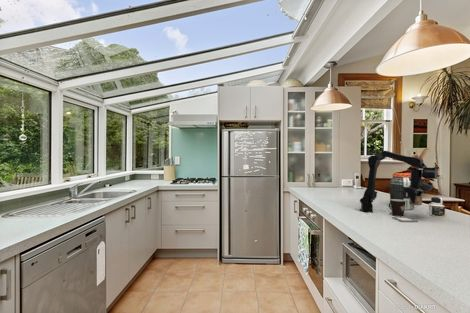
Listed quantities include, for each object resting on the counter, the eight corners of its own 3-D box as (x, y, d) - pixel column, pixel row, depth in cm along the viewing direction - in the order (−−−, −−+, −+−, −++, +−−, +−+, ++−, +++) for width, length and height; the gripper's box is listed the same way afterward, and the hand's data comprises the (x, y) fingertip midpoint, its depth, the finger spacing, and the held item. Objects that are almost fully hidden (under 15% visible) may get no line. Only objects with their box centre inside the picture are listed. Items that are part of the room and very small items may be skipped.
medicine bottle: (431, 216, 175) (432, 197, 175) (428, 213, 182) (428, 196, 182) (445, 217, 172) (445, 198, 172) (441, 214, 179) (441, 196, 179)
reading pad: (401, 222, 160) (401, 220, 160) (391, 217, 170) (391, 216, 170) (418, 222, 160) (418, 221, 160) (407, 218, 170) (407, 216, 170)
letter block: (418, 205, 162) (418, 197, 162) (409, 204, 166) (409, 195, 166) (422, 204, 165) (422, 196, 164) (412, 203, 169) (413, 195, 169)
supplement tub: (415, 211, 189) (415, 174, 189) (389, 208, 198) (389, 173, 197) (413, 207, 203) (414, 173, 203) (390, 205, 211) (390, 172, 211)
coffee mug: (401, 213, 181) (401, 199, 181) (408, 216, 173) (408, 201, 173) (383, 213, 183) (383, 198, 182) (389, 216, 174) (389, 201, 174)
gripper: (424, 179, 153) (423, 206, 153) (437, 178, 163) (437, 203, 164) (403, 177, 162) (402, 203, 163) (417, 176, 173) (416, 200, 173)
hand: (415, 202), depth 165 cm, fingers closed on letter block, 5 cm apart
